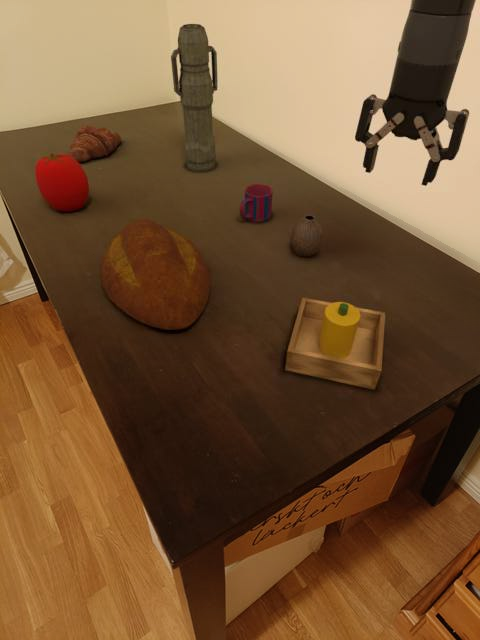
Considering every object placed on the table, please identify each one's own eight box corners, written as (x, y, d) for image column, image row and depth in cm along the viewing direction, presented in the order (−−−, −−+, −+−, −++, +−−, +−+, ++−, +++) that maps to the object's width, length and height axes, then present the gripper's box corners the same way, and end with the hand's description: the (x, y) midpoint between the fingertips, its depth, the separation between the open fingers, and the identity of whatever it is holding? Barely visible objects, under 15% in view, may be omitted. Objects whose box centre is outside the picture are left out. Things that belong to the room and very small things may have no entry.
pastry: (74, 143, 141) (67, 118, 135) (122, 140, 143) (117, 114, 137) (69, 165, 129) (61, 138, 123) (121, 161, 131) (115, 134, 125)
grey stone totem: (176, 164, 129) (162, 25, 105) (211, 155, 133) (204, 20, 109) (189, 175, 124) (177, 31, 99) (225, 166, 128) (221, 26, 104)
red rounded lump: (35, 214, 108) (14, 158, 98) (61, 193, 116) (44, 140, 106) (78, 221, 105) (62, 165, 95) (102, 200, 113) (89, 146, 103)
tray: (379, 331, 78) (385, 312, 74) (374, 390, 68) (381, 370, 65) (299, 316, 81) (302, 297, 77) (285, 370, 71) (287, 350, 68)
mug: (276, 215, 107) (278, 190, 103) (248, 230, 102) (249, 204, 98) (257, 205, 111) (258, 181, 106) (229, 220, 106) (228, 194, 101)
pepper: (352, 339, 75) (363, 297, 69) (349, 362, 71) (360, 321, 65) (321, 332, 76) (328, 291, 70) (316, 355, 72) (323, 314, 66)
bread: (119, 354, 74) (103, 300, 65) (94, 252, 96) (80, 201, 87) (233, 323, 79) (232, 269, 71) (185, 233, 101) (179, 184, 93)
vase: (326, 251, 96) (332, 216, 90) (308, 264, 92) (313, 229, 86) (301, 239, 99) (305, 205, 93) (283, 252, 96) (286, 217, 90)
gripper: (494, 55, 54) (450, 178, 65) (382, 42, 59) (359, 158, 70) (484, 69, 49) (438, 199, 60) (364, 53, 54) (343, 175, 65)
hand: (396, 176), depth 65 cm, fingers open, 8 cm apart
